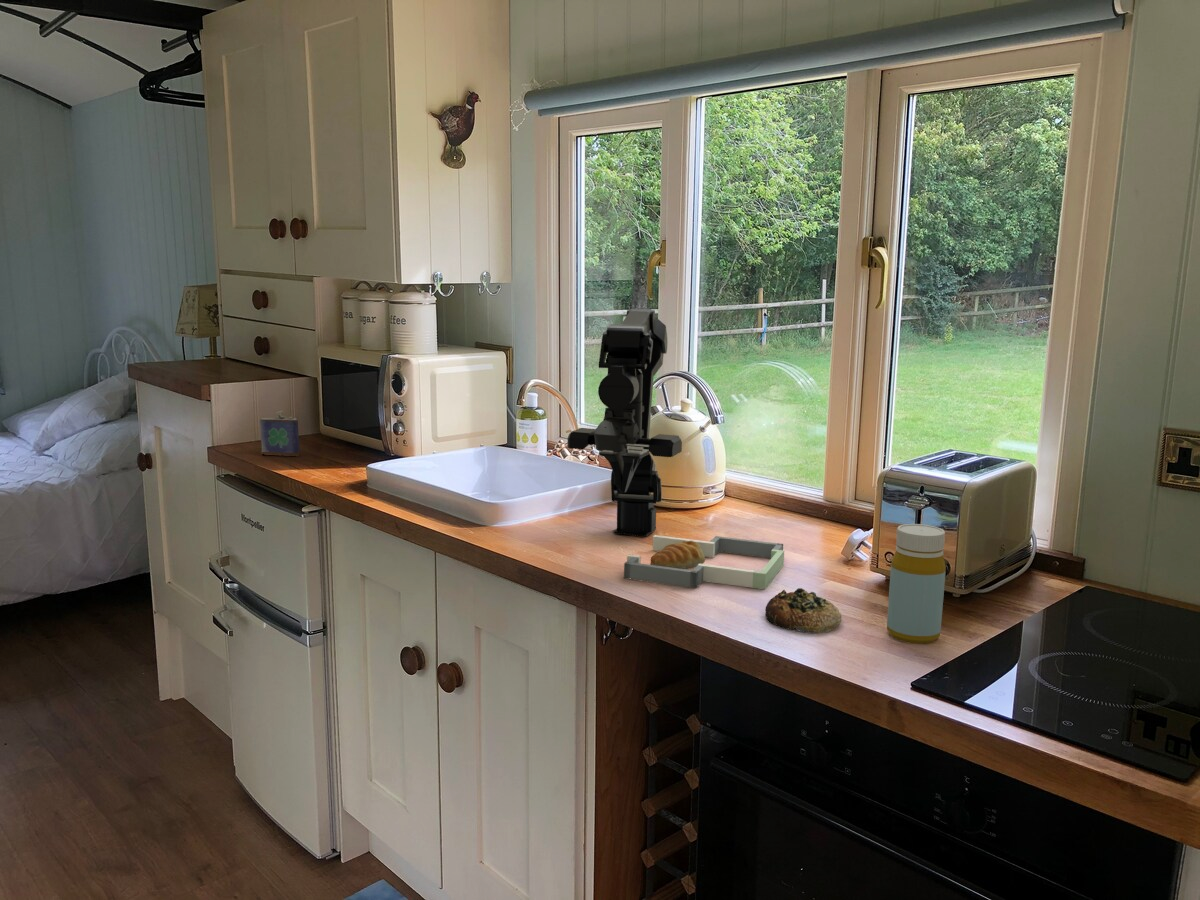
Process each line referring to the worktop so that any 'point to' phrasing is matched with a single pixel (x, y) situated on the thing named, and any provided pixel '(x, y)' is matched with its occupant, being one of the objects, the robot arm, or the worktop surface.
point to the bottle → (917, 584)
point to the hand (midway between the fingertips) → (623, 492)
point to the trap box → (710, 572)
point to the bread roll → (802, 612)
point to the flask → (280, 434)
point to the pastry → (679, 555)
